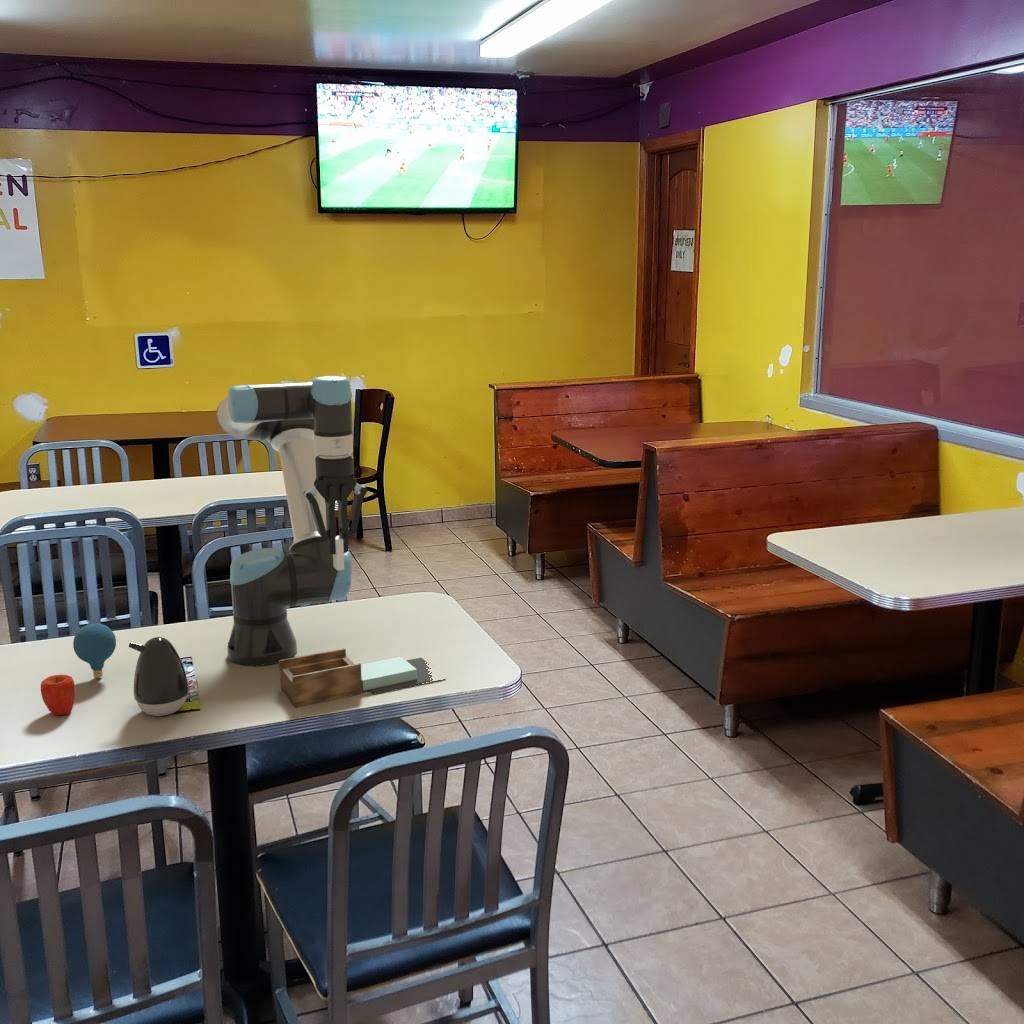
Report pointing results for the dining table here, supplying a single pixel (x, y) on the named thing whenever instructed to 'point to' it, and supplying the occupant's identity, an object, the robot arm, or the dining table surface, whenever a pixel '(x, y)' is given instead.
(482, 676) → the dining table surface
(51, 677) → the apple
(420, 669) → the mat
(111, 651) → the light bulb
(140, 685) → the pump dispenser
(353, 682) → the box
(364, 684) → the lid
